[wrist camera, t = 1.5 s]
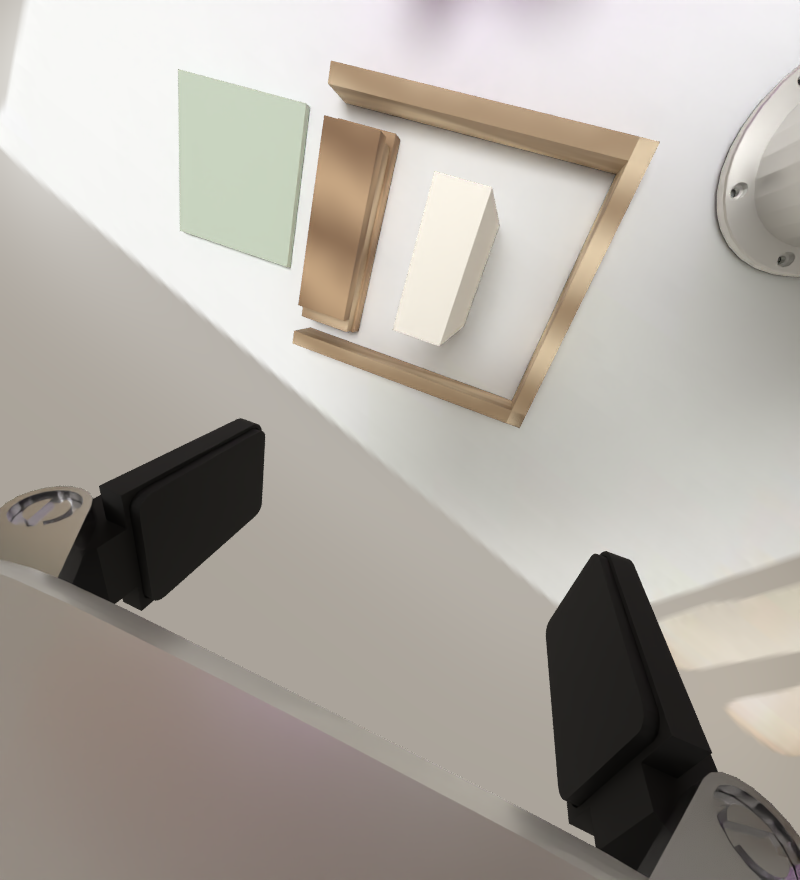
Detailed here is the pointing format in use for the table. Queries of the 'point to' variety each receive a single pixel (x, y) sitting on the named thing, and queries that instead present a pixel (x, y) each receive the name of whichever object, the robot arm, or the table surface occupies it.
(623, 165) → the frame
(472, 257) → the cream rectangular block
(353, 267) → the offcut stack
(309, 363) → the table surface
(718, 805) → the robot arm
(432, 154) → the table surface
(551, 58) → the table surface
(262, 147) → the mat
